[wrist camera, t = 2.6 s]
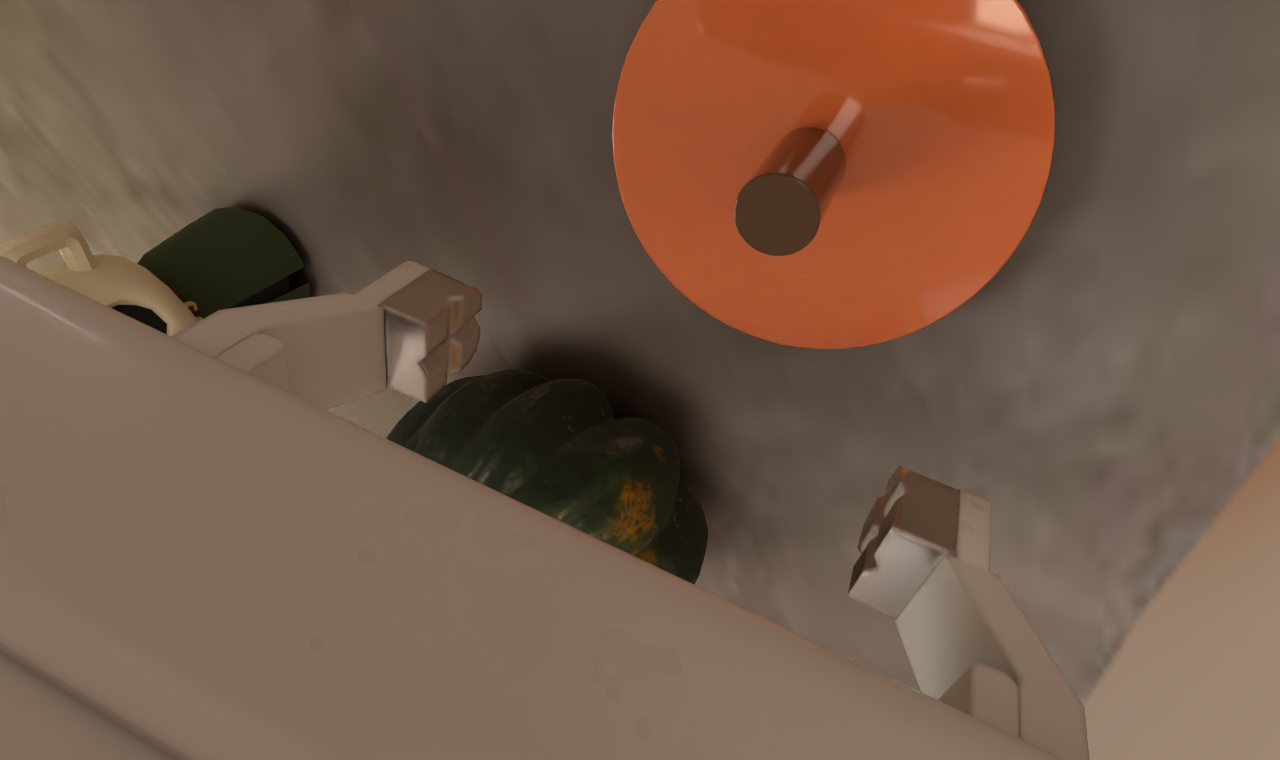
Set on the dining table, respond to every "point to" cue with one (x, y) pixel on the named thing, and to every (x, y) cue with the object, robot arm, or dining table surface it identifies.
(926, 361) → the dining table surface
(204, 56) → the dining table surface
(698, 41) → the lid
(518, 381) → the squash
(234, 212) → the character mug
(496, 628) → the robot arm
